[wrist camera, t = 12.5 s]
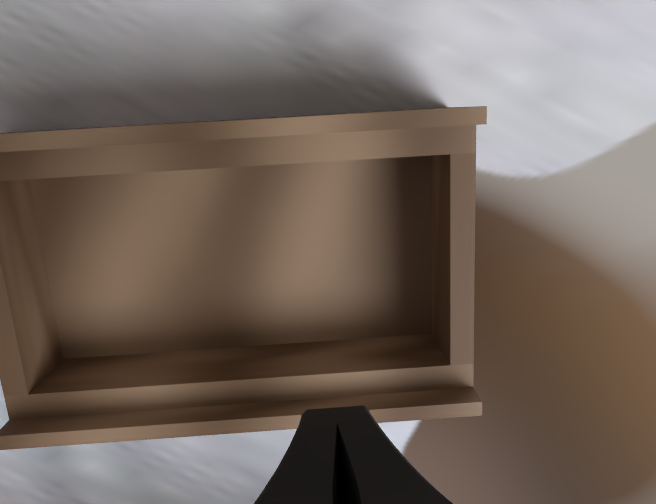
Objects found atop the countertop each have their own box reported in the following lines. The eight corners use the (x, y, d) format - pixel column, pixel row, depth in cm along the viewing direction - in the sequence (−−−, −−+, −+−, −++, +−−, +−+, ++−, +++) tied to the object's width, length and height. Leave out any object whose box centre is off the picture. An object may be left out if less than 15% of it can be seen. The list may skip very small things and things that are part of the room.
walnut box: (448, 107, 20) (486, 106, 16) (448, 358, 23) (481, 415, 18) (6, 132, 20) (-76, 138, 16) (55, 385, 22) (-4, 450, 18)
